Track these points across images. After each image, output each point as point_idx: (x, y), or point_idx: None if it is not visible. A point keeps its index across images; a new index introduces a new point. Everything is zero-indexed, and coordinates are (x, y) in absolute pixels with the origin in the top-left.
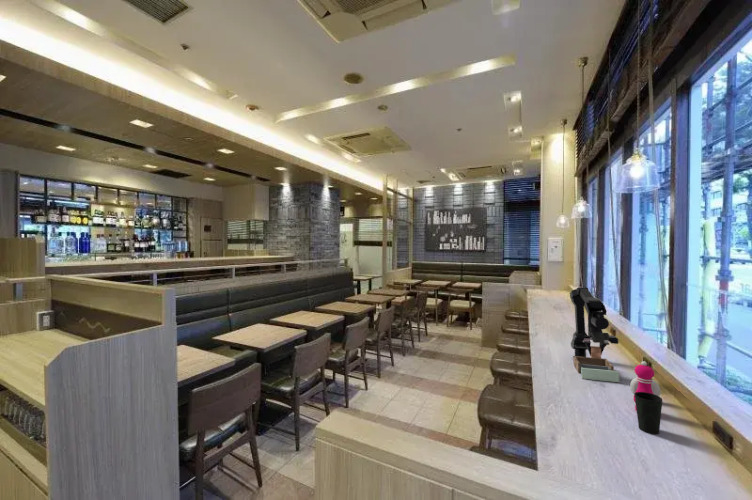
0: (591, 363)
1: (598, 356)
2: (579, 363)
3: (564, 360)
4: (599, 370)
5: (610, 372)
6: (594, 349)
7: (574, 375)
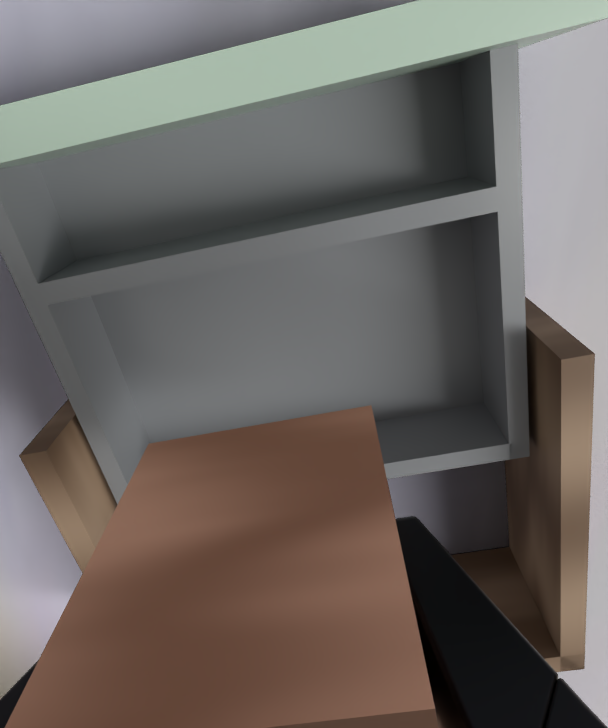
0: None
1: (195, 468)
2: (569, 362)
3: (601, 652)
4: (212, 55)
5: (11, 104)
6: (289, 661)
7: (602, 144)
